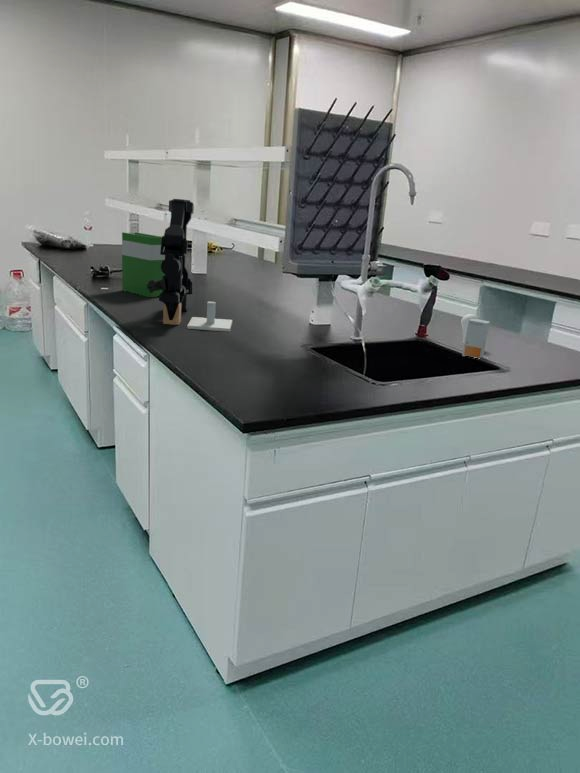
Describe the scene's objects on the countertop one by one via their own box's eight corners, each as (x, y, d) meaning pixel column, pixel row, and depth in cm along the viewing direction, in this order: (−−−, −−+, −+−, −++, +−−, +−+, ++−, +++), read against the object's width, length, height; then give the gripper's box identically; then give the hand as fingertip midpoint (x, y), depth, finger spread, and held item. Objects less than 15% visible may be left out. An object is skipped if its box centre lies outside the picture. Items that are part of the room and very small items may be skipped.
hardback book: (122, 290, 252) (122, 232, 244) (136, 289, 257) (136, 232, 250) (149, 297, 242) (150, 237, 235) (163, 296, 248) (164, 237, 240)
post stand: (192, 319, 209) (193, 297, 207) (232, 322, 210) (233, 300, 208) (187, 328, 196) (188, 304, 194) (229, 331, 197) (231, 307, 195)
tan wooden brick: (165, 320, 205) (166, 301, 203) (180, 321, 205) (181, 302, 203) (163, 323, 200) (163, 304, 198) (178, 324, 200) (179, 305, 198)
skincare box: (461, 356, 192) (468, 319, 188) (464, 353, 195) (471, 318, 192) (480, 360, 189) (487, 323, 185) (483, 357, 193) (490, 321, 189)
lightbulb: (465, 347, 204) (471, 316, 200) (453, 343, 209) (458, 312, 205) (478, 347, 206) (484, 316, 203) (466, 342, 211) (471, 312, 208)
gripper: (153, 266, 206) (153, 311, 210) (143, 273, 188) (142, 322, 193) (186, 269, 206) (185, 313, 211) (178, 276, 188) (177, 324, 193)
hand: (172, 318), depth 202 cm, fingers closed on tan wooden brick, 5 cm apart
